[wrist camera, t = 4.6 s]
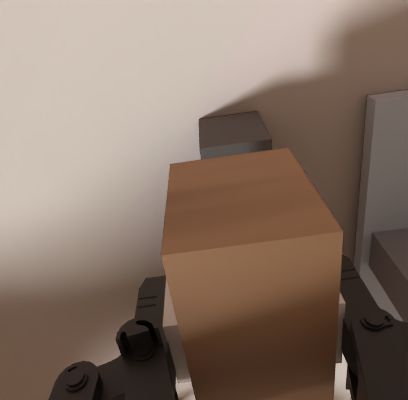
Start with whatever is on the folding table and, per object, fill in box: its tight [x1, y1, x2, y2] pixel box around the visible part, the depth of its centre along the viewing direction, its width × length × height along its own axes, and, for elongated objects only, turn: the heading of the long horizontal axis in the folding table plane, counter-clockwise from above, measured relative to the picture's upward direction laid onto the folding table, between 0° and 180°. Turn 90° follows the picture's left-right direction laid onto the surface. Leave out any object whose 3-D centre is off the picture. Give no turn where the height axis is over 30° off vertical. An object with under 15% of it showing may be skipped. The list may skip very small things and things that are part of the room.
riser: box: [199, 111, 272, 160], centre depth 22 cm, size 3×18×4 cm, turn 8°
